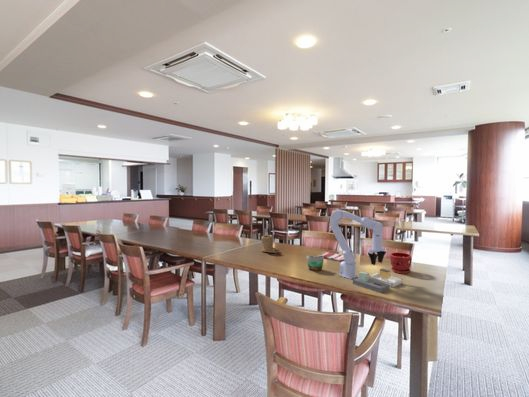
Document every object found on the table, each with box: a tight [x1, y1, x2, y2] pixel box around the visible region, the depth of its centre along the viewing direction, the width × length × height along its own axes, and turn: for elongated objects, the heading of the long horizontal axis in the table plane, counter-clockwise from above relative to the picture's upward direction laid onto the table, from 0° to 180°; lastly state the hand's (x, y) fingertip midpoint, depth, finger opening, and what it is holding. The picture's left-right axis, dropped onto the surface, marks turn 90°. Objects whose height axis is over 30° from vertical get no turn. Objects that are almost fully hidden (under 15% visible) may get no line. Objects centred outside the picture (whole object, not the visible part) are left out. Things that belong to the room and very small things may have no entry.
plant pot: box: [389, 251, 412, 275], centre depth 192 cm, size 13×13×12 cm
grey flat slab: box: [352, 277, 390, 294], centre depth 165 cm, size 18×9×2 cm, turn 38°
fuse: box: [358, 270, 370, 282], centre depth 168 cm, size 5×3×7 cm, turn 38°
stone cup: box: [261, 234, 281, 254], centre depth 245 cm, size 15×12×15 cm
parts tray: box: [369, 272, 403, 288], centre depth 172 cm, size 16×12×2 cm
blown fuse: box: [379, 268, 391, 282], centre depth 172 cm, size 5×3×7 cm, turn 38°
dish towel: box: [317, 251, 344, 263], centre depth 228 cm, size 17×23×3 cm
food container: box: [306, 254, 325, 272], centre depth 194 cm, size 12×6×10 cm, turn 82°
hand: (376, 263), depth 175 cm, fingers open, 7 cm apart
